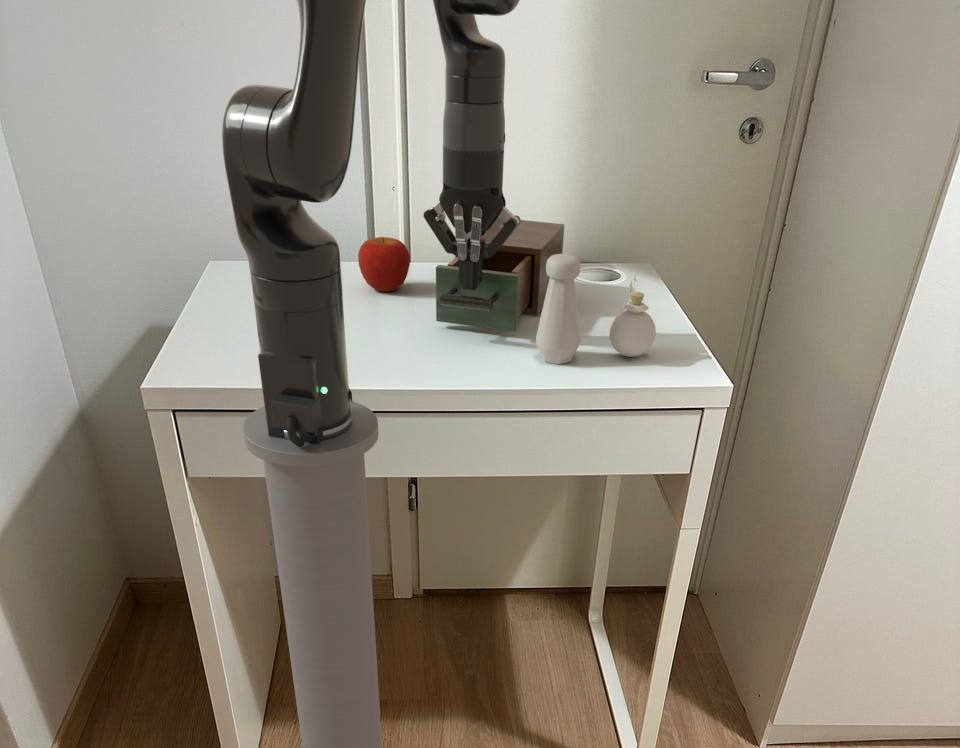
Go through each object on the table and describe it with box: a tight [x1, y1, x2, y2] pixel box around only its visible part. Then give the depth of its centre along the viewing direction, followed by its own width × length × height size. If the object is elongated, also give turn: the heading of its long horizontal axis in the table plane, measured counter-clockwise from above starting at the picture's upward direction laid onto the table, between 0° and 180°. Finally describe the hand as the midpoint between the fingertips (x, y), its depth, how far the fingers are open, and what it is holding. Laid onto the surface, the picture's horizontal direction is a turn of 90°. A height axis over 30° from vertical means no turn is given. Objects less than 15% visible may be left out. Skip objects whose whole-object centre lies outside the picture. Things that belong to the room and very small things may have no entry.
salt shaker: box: [535, 253, 582, 365], centre depth 117 cm, size 6×6×13 cm
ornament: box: [609, 274, 657, 358], centre depth 120 cm, size 6×7×10 cm
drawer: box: [435, 251, 535, 332], centre depth 128 cm, size 19×12×7 cm, turn 163°
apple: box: [357, 236, 411, 293], centre depth 140 cm, size 8×8×8 cm
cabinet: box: [454, 218, 565, 316], centre depth 138 cm, size 15×13×9 cm
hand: (470, 288), depth 122 cm, fingers closed
